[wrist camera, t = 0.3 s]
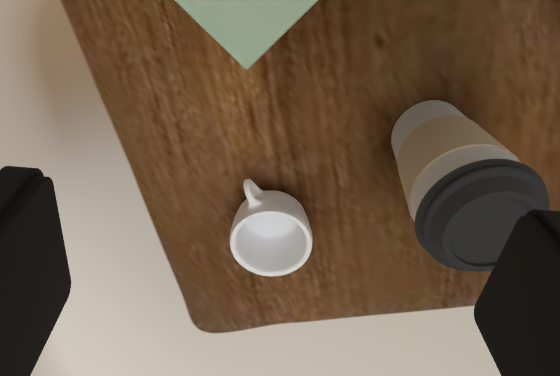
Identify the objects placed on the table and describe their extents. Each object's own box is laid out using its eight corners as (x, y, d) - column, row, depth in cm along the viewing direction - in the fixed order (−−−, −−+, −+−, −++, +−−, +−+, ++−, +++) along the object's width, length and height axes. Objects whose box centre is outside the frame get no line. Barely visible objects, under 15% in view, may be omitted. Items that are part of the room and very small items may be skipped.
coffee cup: (380, 182, 45) (424, 295, 33) (376, 97, 40) (425, 191, 28) (473, 168, 45) (554, 278, 32) (480, 80, 40) (579, 168, 27)
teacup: (318, 227, 48) (323, 262, 44) (251, 249, 49) (249, 285, 45) (284, 150, 43) (286, 180, 38) (210, 176, 44) (204, 208, 40)
